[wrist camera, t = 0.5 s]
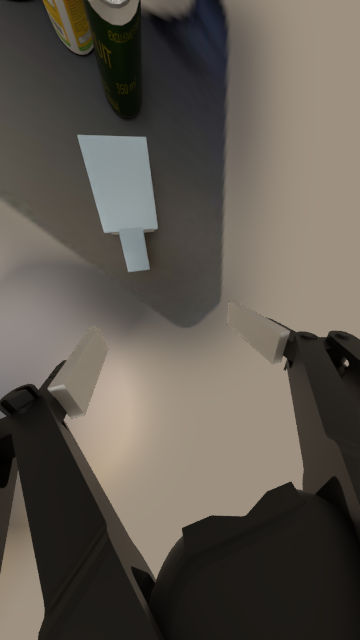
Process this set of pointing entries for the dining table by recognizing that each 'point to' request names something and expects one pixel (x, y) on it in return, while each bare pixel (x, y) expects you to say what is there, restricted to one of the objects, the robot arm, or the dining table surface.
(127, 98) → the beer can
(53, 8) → the supplement bottle
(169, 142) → the dining table surface
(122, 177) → the lid
